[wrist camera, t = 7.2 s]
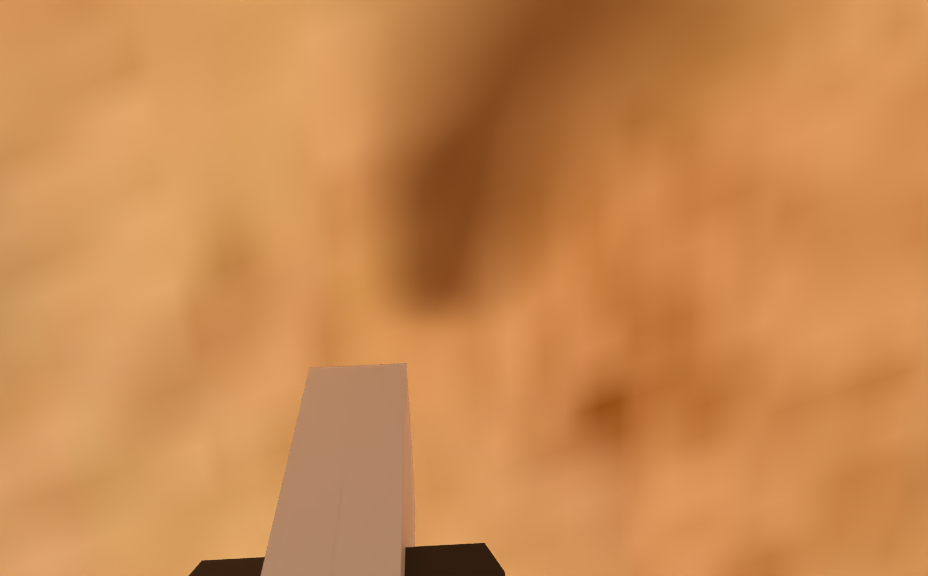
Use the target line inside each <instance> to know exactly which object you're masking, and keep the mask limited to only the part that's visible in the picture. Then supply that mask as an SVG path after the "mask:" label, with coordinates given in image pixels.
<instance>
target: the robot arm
mask: <svg viewBox="0 0 928 576" xmlns="http://www.w3.org/2000/svg"><path fill="white" fill-rule="evenodd" d="M189 576H505V572H504V570H503V569H502V567H501V566H500V564H499V563H498V562H497V560H496V559H495V557H494V556H493V555H492V553H491V552H490V550H489V549H488V547H487V546H486V545H485V543H476V544H457V545H438V546H419V547H415V494H414V477H413V461H412V445H411V429H410V413H409V396H408V380H407V364H406V363H402V364H380V365H358V366H336V367H315V368H309V372H308V376H307V381H306V385H305V389H304V393H303V398H302V402H301V406H300V410H299V415H298V419H297V423H296V427H295V432H294V436H293V440H292V444H291V449H290V453H289V457H288V461H287V466H286V470H285V474H284V478H283V483H282V487H281V491H280V495H279V500H278V504H277V508H276V512H275V517H274V521H273V525H272V529H271V534H270V538H269V542H268V546H267V551H266V555H265V557H261V558H242V559H223V560H205V561H201V562H200V563H199V565H198V566H197V567H196V568H195V569H194V570H193V571H192V573H191V574H190V575H189Z"/></svg>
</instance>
